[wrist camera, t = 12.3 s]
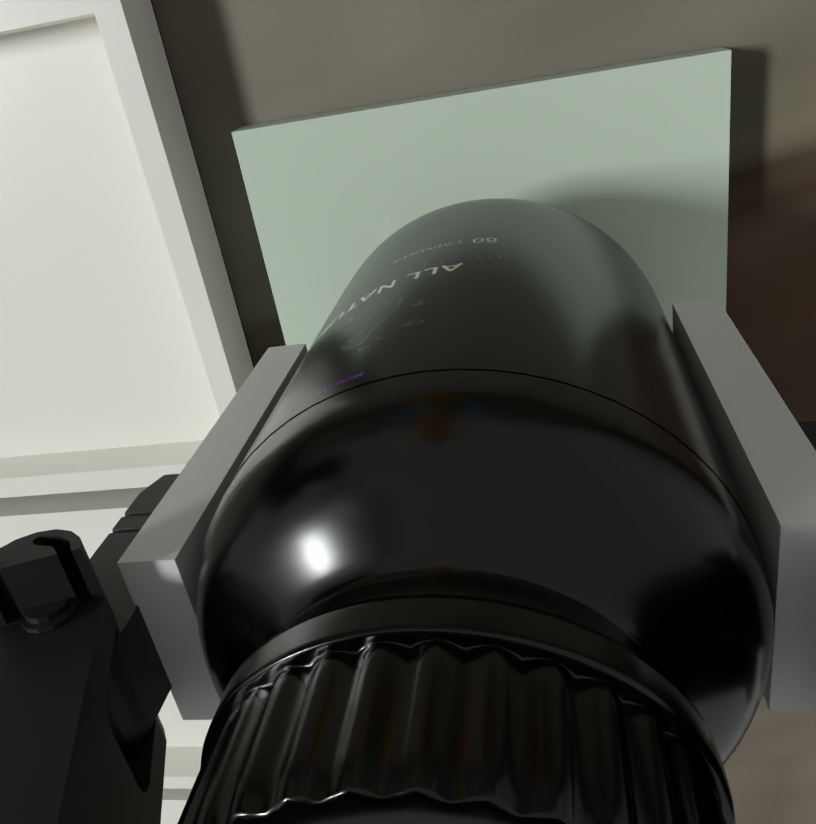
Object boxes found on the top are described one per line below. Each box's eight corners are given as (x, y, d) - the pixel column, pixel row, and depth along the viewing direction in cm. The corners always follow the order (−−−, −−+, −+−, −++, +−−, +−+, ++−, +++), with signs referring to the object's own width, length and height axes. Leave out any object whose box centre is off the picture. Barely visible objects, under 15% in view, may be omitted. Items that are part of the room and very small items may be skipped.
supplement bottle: (397, 133, 15) (95, 497, 4) (727, 269, 15) (1216, 909, 5) (296, 426, 18) (-13, 1040, 7) (569, 530, 18) (640, 1248, 8)
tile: (243, 126, 17) (231, 132, 16) (721, 47, 15) (731, 49, 15) (336, 501, 22) (330, 518, 21) (715, 475, 20) (722, 493, 19)
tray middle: (-78, 496, 23) (-110, 524, 22) (281, 468, 21) (267, 497, 20) (61, 754, 29) (40, 788, 27) (361, 752, 26) (353, 789, 25)
